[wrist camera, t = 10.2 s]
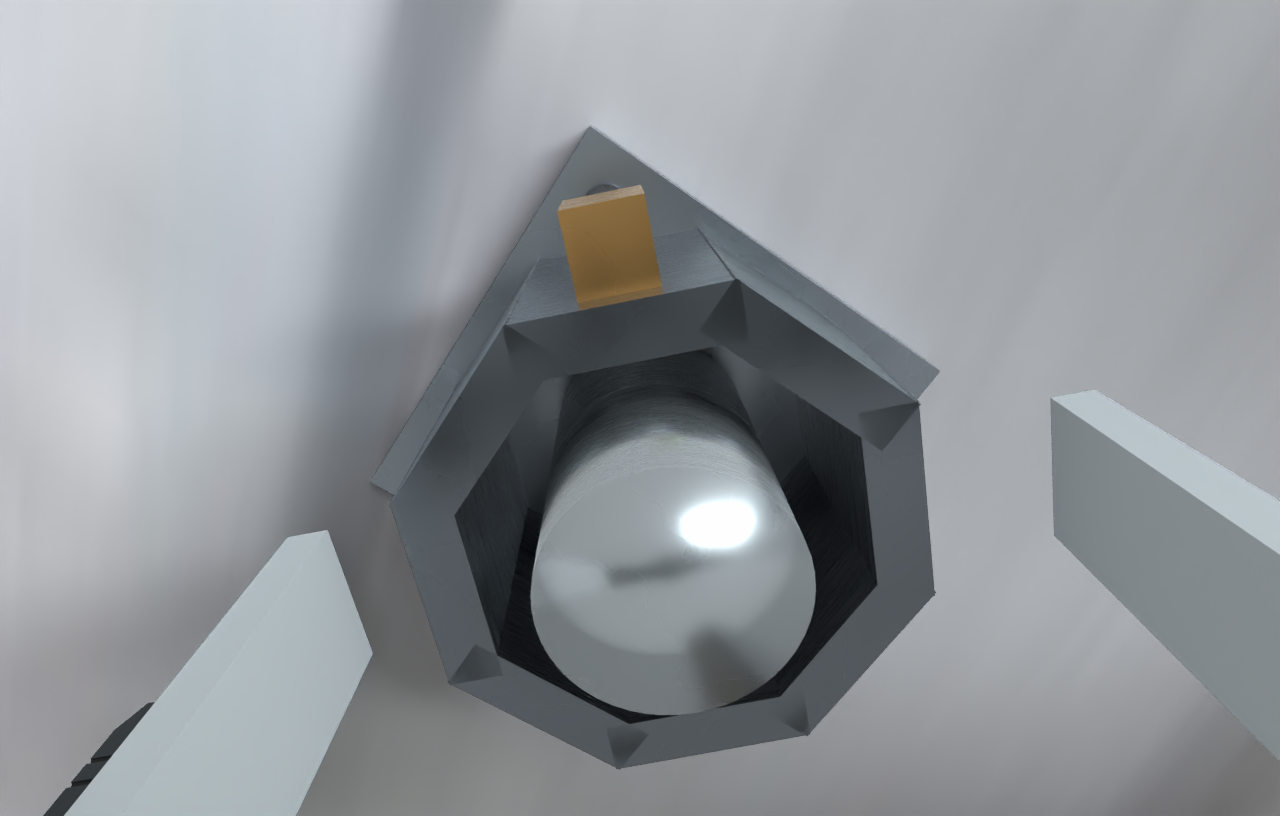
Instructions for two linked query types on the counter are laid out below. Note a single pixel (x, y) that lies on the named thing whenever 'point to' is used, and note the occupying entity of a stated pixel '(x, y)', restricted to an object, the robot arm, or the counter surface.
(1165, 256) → the counter surface
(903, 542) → the collar
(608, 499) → the bolted post base
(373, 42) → the counter surface
